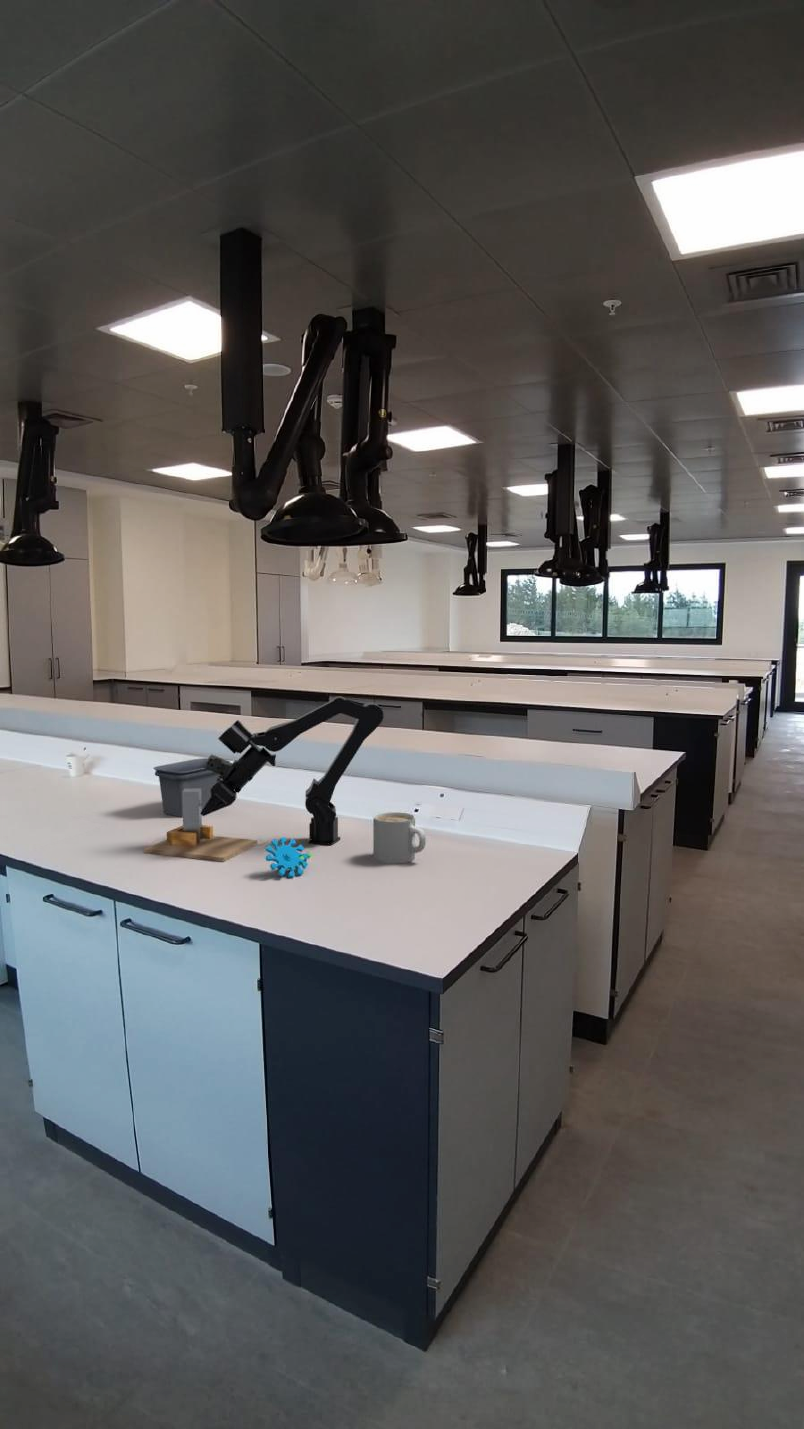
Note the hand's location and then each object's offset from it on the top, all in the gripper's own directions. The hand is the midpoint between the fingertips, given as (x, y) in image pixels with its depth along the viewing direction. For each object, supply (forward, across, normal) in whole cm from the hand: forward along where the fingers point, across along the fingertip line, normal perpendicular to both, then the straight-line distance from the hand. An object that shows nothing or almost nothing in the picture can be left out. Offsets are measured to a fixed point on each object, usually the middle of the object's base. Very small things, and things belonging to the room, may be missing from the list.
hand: (204, 810), depth 190 cm
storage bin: (+13, -38, 0) cm, 40 cm away
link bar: (+8, 0, +3) cm, 8 cm away
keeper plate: (+6, +4, +6) cm, 9 cm away
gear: (-9, +25, +22) cm, 34 cm away
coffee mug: (-27, +17, +40) cm, 51 cm away
